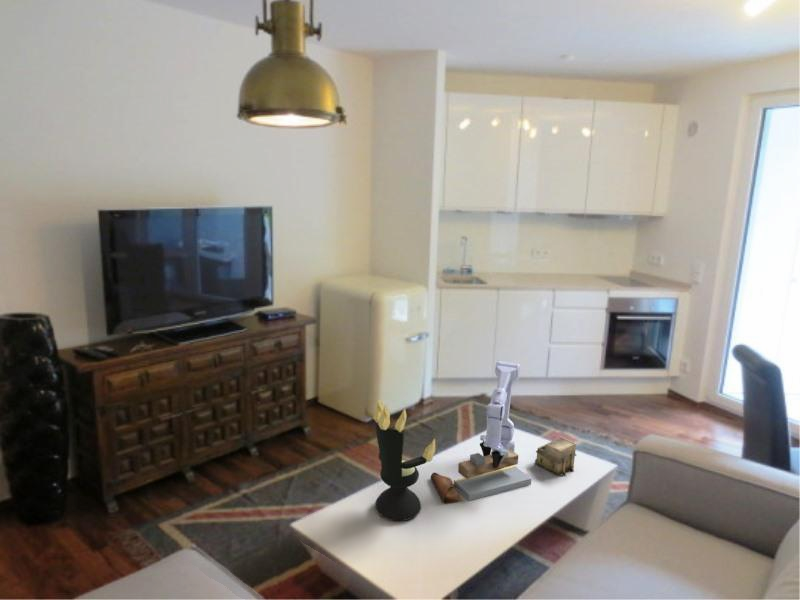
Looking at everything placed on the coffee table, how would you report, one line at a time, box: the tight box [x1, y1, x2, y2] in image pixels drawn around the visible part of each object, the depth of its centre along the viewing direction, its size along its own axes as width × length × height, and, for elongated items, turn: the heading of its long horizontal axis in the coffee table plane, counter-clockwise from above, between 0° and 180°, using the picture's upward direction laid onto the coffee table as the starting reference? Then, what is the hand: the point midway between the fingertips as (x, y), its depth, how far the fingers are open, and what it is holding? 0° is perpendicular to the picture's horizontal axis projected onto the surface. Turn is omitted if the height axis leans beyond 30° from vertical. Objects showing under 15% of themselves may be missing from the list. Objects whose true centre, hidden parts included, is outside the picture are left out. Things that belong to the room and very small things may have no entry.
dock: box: [453, 465, 532, 502], centre depth 222 cm, size 30×11×3 cm, turn 117°
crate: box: [469, 452, 485, 466], centre depth 218 cm, size 4×4×2 cm
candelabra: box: [373, 398, 436, 522], centre depth 197 cm, size 19×22×45 cm
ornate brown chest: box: [535, 436, 577, 477], centre depth 239 cm, size 15×14×11 cm
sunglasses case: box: [430, 472, 463, 505], centre depth 217 cm, size 18×7×7 cm
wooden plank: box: [457, 449, 519, 479], centre depth 222 cm, size 26×6×4 cm, turn 120°
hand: (491, 463), depth 223 cm, fingers closed on wooden plank, 6 cm apart
